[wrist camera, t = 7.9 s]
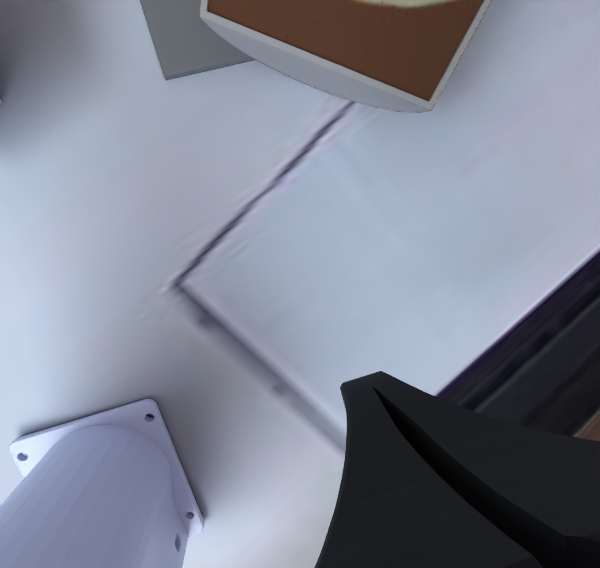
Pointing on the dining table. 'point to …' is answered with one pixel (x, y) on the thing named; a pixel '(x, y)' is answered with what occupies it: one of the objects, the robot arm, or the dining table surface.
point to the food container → (354, 44)
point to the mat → (186, 39)
